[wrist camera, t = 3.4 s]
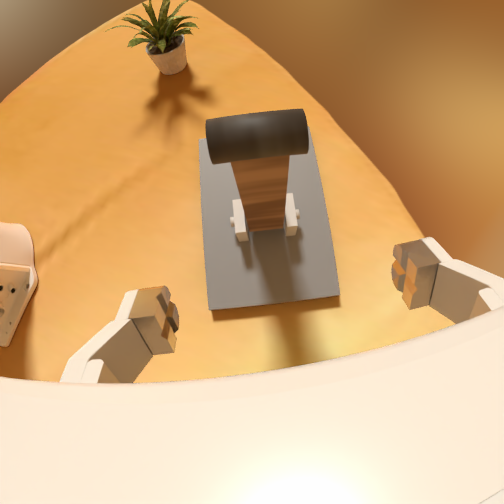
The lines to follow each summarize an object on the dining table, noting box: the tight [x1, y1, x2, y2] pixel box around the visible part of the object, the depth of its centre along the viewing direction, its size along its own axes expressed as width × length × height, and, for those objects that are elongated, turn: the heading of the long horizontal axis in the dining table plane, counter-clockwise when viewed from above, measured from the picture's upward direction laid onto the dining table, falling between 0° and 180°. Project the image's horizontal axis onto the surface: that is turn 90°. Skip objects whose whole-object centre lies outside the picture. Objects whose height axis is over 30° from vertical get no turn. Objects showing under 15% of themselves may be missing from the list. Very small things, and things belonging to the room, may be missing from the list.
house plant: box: [105, 0, 199, 75], centre depth 40 cm, size 14×14×16 cm
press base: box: [199, 127, 340, 310], centre depth 38 cm, size 24×16×6 cm, turn 6°
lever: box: [206, 109, 309, 232], centre depth 28 cm, size 3×6×19 cm, turn 96°
